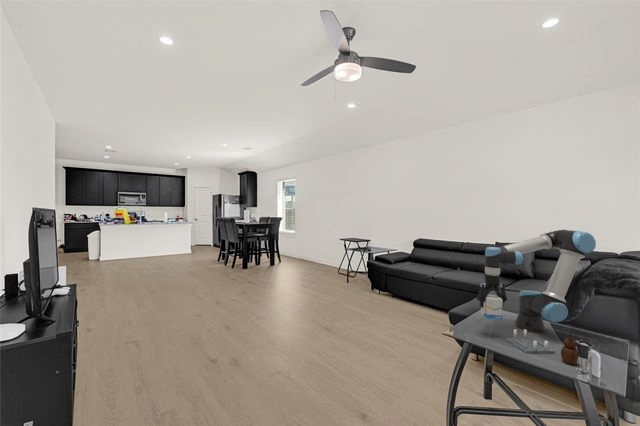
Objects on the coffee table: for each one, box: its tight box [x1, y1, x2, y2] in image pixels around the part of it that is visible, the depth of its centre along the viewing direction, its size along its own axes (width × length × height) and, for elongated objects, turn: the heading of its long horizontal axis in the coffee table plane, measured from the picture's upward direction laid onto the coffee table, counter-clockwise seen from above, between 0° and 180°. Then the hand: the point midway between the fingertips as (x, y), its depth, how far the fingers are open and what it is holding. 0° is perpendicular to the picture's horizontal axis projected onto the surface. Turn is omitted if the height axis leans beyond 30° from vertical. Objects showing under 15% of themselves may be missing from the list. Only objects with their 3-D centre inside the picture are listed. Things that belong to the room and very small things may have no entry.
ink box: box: [480, 294, 504, 321], centre depth 163 cm, size 9×8×12 cm
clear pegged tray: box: [505, 328, 556, 354], centre depth 151 cm, size 16×15×6 cm
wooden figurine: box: [560, 332, 580, 365], centre depth 136 cm, size 7×6×15 cm
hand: (491, 312), depth 164 cm, fingers closed on ink box, 9 cm apart
